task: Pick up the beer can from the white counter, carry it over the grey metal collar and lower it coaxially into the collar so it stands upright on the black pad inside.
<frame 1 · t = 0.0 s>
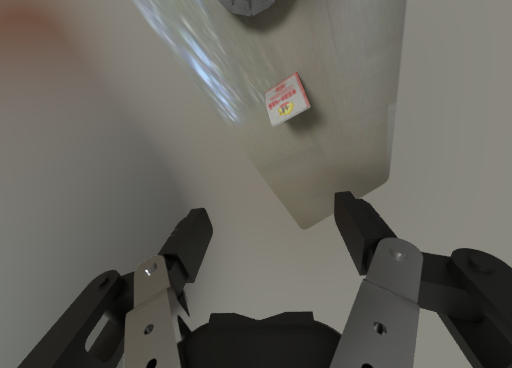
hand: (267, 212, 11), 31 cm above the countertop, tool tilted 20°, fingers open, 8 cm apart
white printed box: (284, 90, 36), on the countertop
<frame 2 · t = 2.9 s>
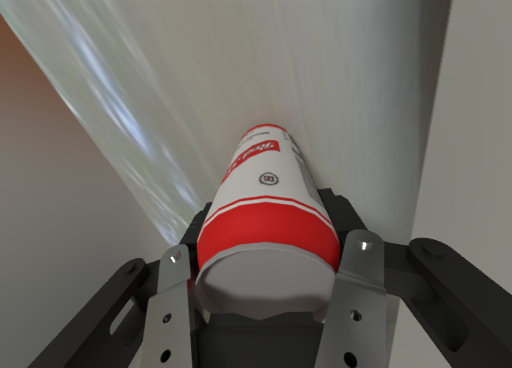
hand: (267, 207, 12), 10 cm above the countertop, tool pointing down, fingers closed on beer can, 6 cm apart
beer can: (266, 150, 20), on the countertop, touching gripper
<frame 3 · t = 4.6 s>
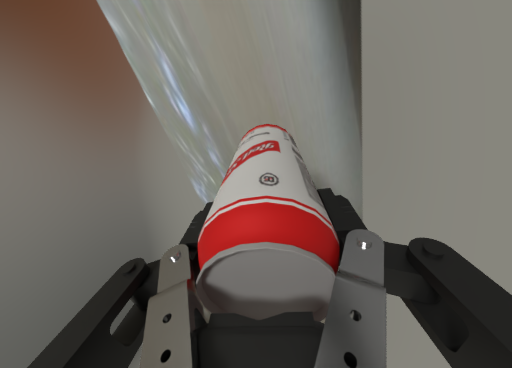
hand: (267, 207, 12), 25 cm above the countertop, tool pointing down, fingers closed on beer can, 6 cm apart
beer can: (267, 150, 21), point 15 cm above the countertop, touching gripper
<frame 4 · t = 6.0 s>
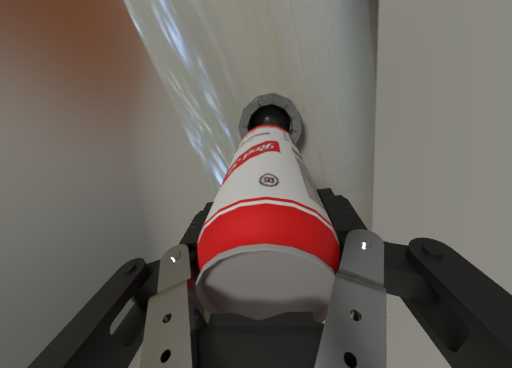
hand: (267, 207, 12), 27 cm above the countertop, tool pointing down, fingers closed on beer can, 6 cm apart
beer can: (267, 150, 20), point 16 cm above the countertop, touching gripper
collar: (270, 125, 35), on the countertop
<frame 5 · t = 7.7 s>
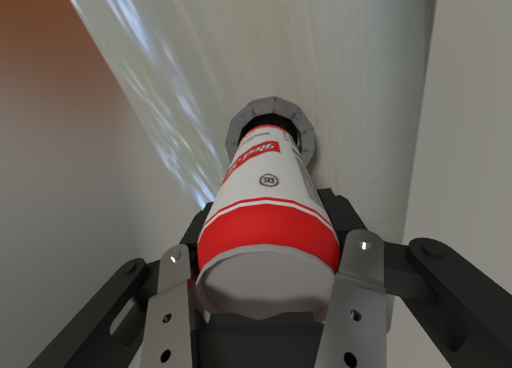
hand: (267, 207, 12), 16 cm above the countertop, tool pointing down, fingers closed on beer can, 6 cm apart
beer can: (267, 150, 20), point 5 cm above the countertop, touching gripper
collar: (269, 140, 25), on the countertop
when the fingers open (11 cm above the countertop, at t = 9.2 s): beer can drops 1 cm, resting on collar.
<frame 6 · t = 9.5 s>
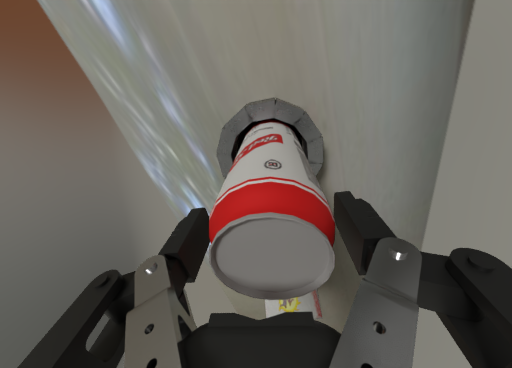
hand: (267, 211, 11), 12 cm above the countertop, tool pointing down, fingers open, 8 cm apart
white printed box: (287, 251, 30), on the countertop
beer can: (270, 145, 21), resting on collar
collar: (269, 149, 22), on the countertop
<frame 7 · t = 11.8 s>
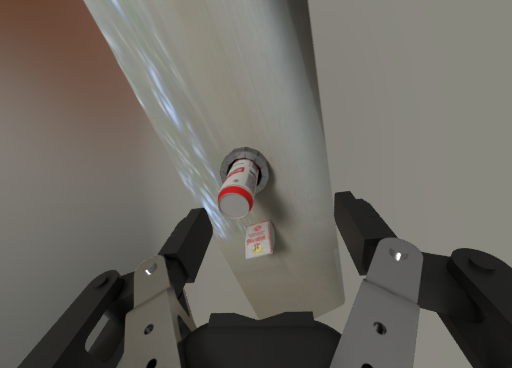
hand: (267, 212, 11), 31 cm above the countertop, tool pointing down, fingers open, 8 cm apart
white printed box: (261, 227, 52), on the countertop
beer can: (246, 167, 43), resting on collar
collar: (245, 169, 44), on the countertop
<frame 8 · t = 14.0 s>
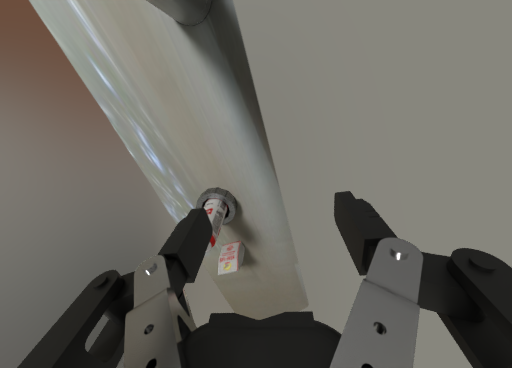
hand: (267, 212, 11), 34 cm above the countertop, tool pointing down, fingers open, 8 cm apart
white printed box: (234, 246, 63), on the countertop
beer can: (218, 202, 53), resting on collar
collar: (218, 203, 54), on the countertop
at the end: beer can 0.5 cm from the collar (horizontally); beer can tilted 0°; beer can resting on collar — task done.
